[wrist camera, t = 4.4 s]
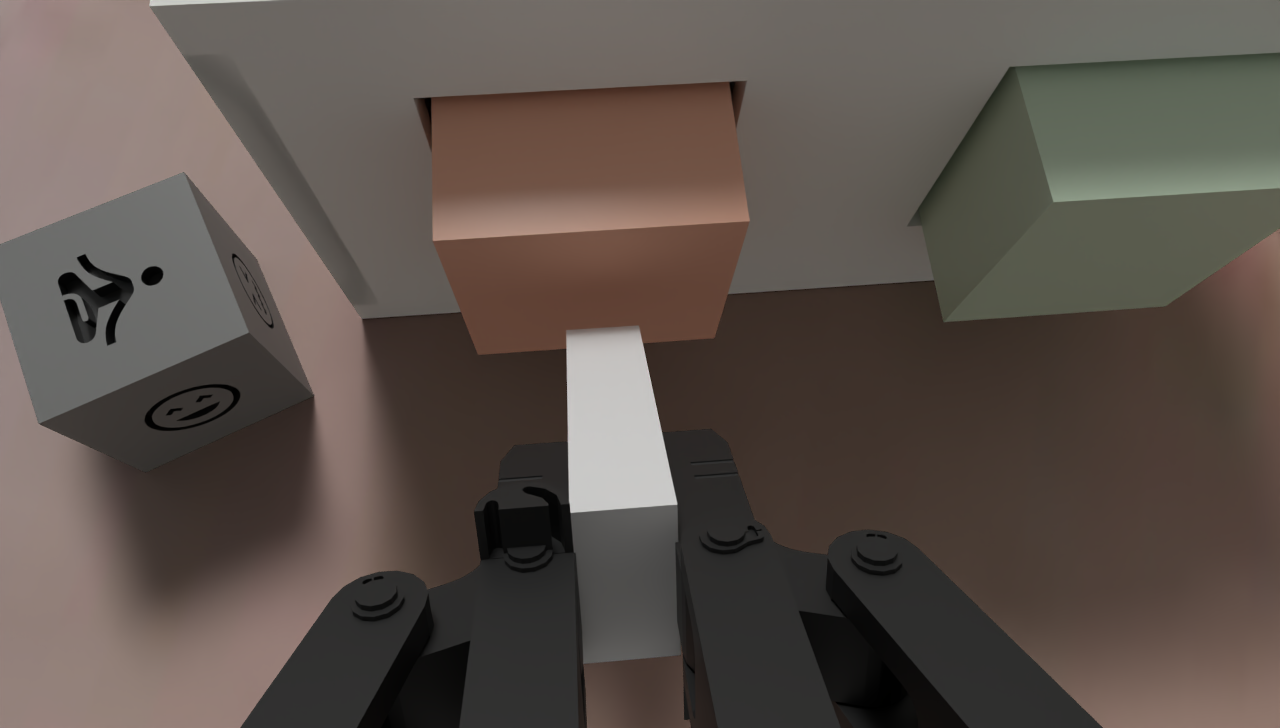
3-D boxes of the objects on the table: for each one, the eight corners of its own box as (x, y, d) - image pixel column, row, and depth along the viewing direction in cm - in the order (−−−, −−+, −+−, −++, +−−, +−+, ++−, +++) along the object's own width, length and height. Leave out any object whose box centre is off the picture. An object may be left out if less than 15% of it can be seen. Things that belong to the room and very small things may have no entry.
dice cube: (96, 328, 26) (-16, 250, 22) (257, 260, 27) (183, 172, 22) (146, 472, 25) (38, 423, 20) (315, 396, 26) (249, 332, 21)
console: (361, 318, 26) (149, 5, 14) (367, 50, 30) (200, -387, 18) (1183, 263, 28) (1623, -62, 16) (1099, 14, 31) (1409, -410, 19)
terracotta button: (478, 354, 22) (432, 240, 16) (472, 120, 24) (430, -50, 19) (714, 338, 22) (749, 221, 17) (685, 108, 25) (707, -61, 19)
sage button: (943, 322, 23) (1053, 202, 17) (892, 98, 25) (975, -73, 19) (1164, 306, 23) (1344, 183, 17) (1094, 86, 25) (1232, -84, 20)
